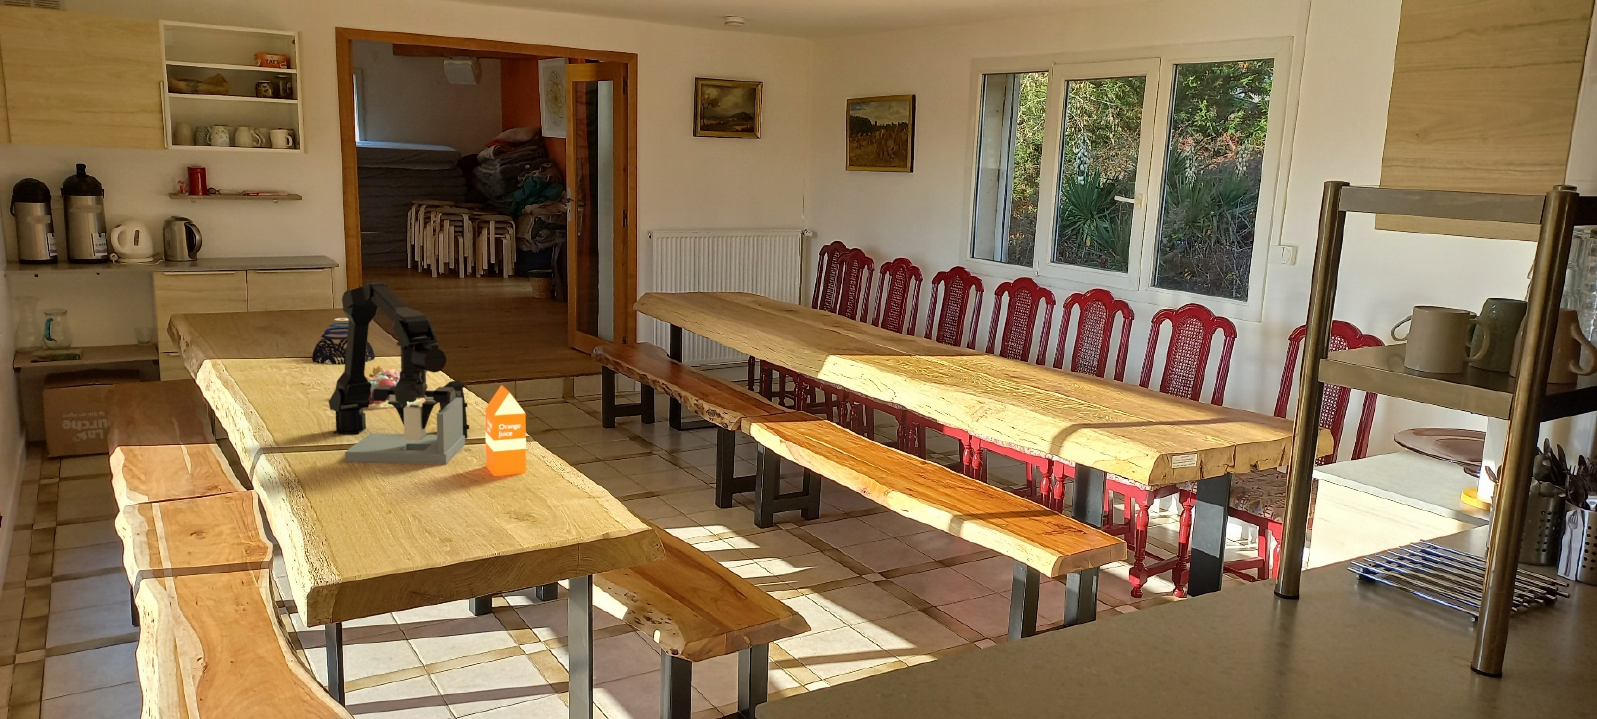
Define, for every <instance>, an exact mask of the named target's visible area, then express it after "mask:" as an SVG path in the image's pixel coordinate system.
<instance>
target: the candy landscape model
mask: <svg viewBox="0 0 1597 719" xmlns="http://www.w3.org/2000/svg"><path fill="white" fill-rule="evenodd" d="M400 372H401V371H397V370H395V369H394V368H390V369H386V370H384V368H383V366H382V365H381V366H380V365H374V366H373V369H372V373H369V374H368V375H367V374H366V373H364V375H365V377H366V378H367V380H368V382H370V383H371V390H370V391H371V396H370V401H369V407H368V408H367V409H370V410H389V409H396V408H395V407H394V406H393V405H391V404H388V402H389V397H388V398H387V399H386V400H385V401H373V400H372V391H373V390H374V389H375V388H377V387H379V386H380V385H389V386H396V384H397V383H398V381H399V378H400ZM422 401H424V398H417V399H416V401H415V402H407V405H408V404H415V405H418V404H420V403H422Z"/></svg>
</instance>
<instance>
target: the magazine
mask: <svg viewBox="0 0 1597 719" xmlns="http://www.w3.org/2000/svg"><path fill="white" fill-rule="evenodd" d="M443 387H453V388H454V389H455V394H456V398H462V412H463V436H465V440H466V439H468V430H470V425H469V424H468V418H467V407H468V402H466V401H465V393H464V388H465V384H464V383H462V380H452V381H448V383H446V384H445V385H444V386H443ZM452 401H453V400H452ZM452 401H451V402H452ZM448 404H449V403H439V407H440V408H439V409H440V410H438V412H440V411H441V410H442V409H443V408H444V407H446V406H447V405H448Z"/></svg>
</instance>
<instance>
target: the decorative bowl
mask: <svg viewBox="0 0 1597 719" xmlns="http://www.w3.org/2000/svg"><path fill="white" fill-rule="evenodd" d="M334 321H337V322H336V323H335V322H334V323H330V324H329V327H330V328H326V329H325V330H323V333H322V335H321V336H320V337H321V339H320V340H318V342H317V343H316V345H315V347H314V349H313V352H312V358H311V359H312V361H313V363H317V364H324V365H329V363H326V362H327V361H329V362H330V365H345V359H346V347H347V336H348V324H349V320H348V318H347V317H339V318H334ZM343 321H344V322H343ZM345 321H348V322H345ZM329 335H338V336H329ZM340 335H347V336H340ZM334 340H336V341H338V340H339V342H338V343H335V342H334ZM345 345H346V346H345ZM344 347H345V348H344ZM369 358H370V359H369ZM375 358H376V356H375V352H374V349H373V346H372V345H371V343H370V342H368V340H367V350H366V361H365V363H368V362H371V361H374V360H375Z"/></svg>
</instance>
